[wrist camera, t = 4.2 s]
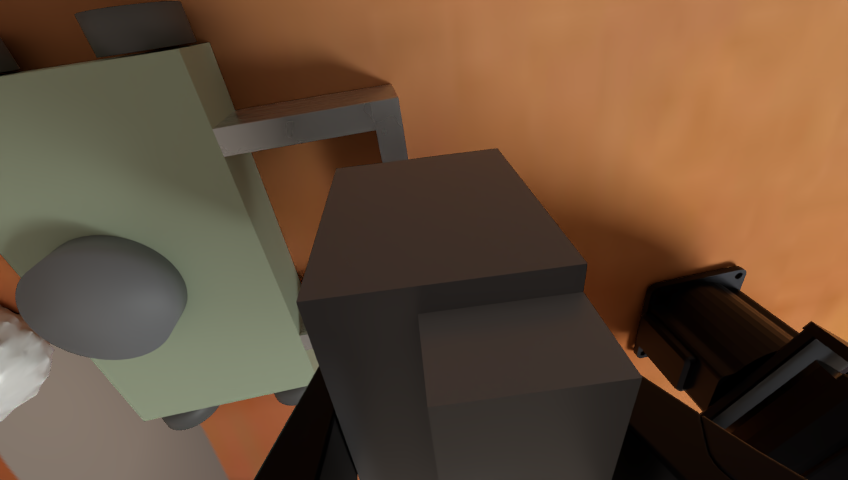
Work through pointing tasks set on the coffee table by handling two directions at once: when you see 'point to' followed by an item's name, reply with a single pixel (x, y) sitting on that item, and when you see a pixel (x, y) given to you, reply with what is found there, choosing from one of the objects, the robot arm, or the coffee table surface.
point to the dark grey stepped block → (461, 328)
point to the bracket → (317, 127)
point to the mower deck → (146, 223)
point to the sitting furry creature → (20, 361)
